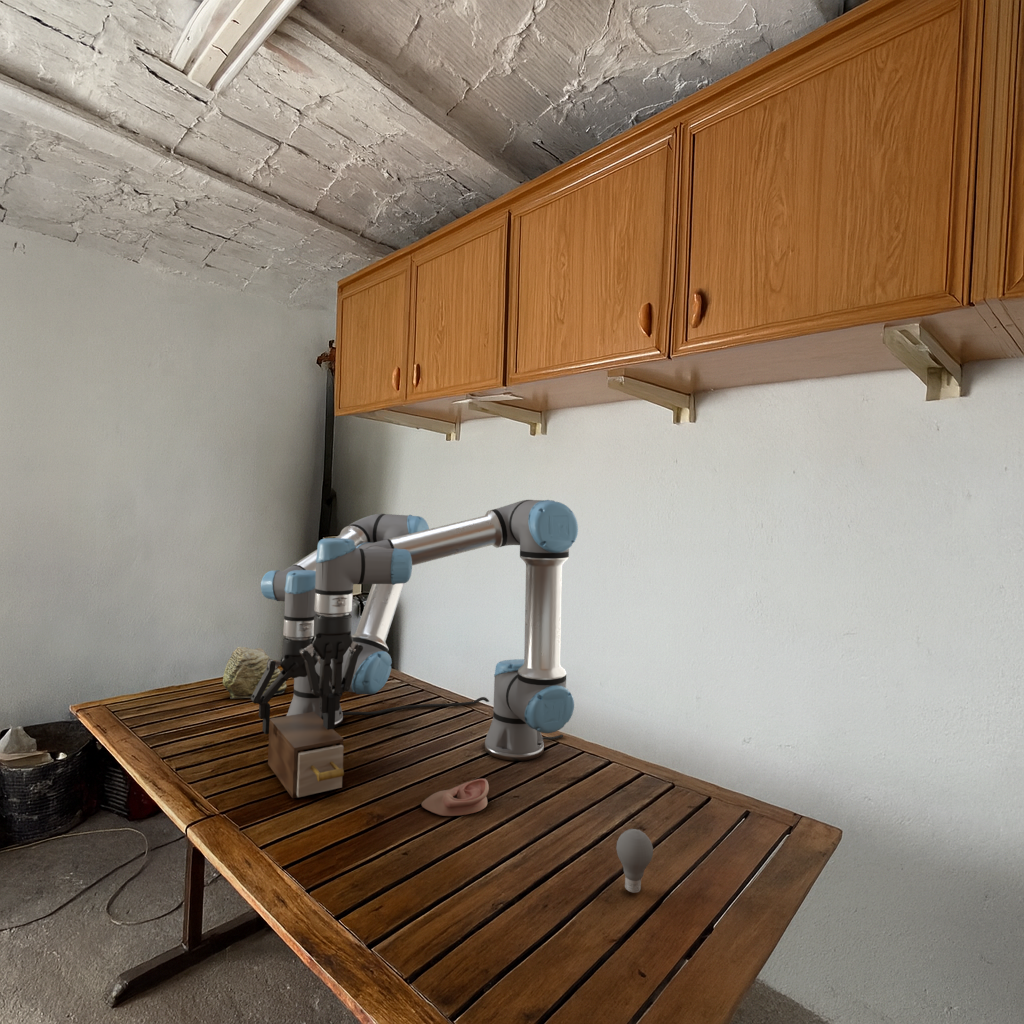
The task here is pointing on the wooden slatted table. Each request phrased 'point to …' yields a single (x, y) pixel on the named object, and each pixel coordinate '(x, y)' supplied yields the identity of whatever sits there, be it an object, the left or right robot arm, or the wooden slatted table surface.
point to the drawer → (319, 769)
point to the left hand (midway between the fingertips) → (295, 727)
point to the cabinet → (295, 744)
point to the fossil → (247, 672)
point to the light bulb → (634, 857)
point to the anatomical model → (459, 799)
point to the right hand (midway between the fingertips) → (328, 726)
